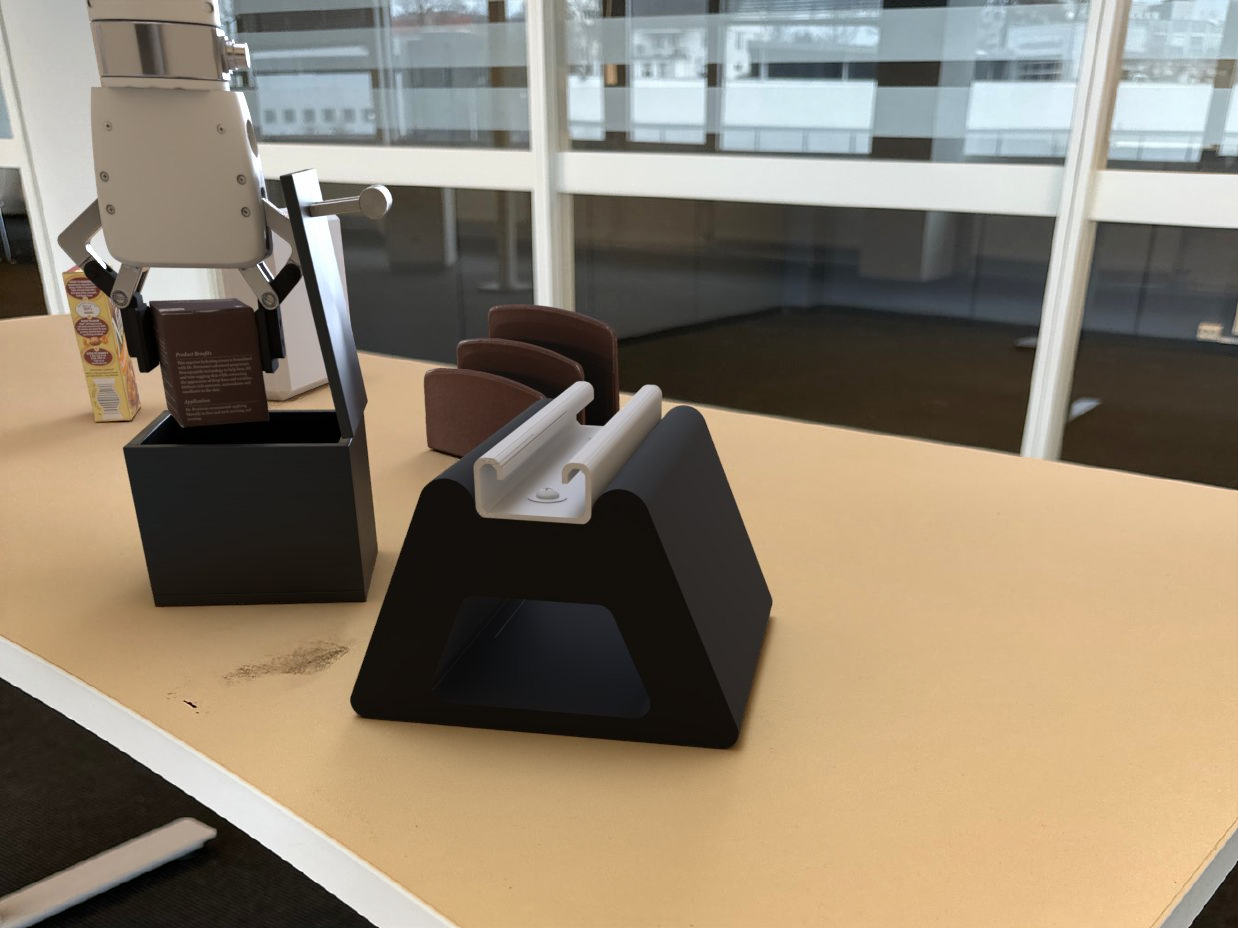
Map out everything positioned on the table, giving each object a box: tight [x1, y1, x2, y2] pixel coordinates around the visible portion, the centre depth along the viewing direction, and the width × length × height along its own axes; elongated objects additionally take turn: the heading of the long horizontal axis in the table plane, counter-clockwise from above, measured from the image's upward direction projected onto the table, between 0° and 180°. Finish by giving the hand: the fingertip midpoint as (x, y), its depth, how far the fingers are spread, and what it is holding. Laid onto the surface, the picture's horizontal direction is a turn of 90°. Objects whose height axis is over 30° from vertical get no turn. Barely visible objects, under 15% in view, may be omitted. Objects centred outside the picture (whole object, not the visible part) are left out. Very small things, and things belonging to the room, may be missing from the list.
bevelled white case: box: [220, 207, 352, 402], centre depth 154 cm, size 21×8×20 cm, turn 169°
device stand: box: [349, 381, 774, 750], centre depth 75 cm, size 22×22×15 cm
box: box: [148, 298, 269, 428], centre depth 84 cm, size 6×6×7 cm
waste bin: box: [122, 408, 379, 607], centre depth 89 cm, size 15×13×11 cm
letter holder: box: [423, 303, 621, 458], centre depth 123 cm, size 10×20×14 cm, turn 45°
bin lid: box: [279, 167, 393, 439], centre depth 83 cm, size 15×13×6 cm
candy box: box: [61, 263, 142, 423], centre depth 137 cm, size 9×4×15 cm, turn 13°
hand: (210, 368), depth 84 cm, fingers closed on box, 7 cm apart
